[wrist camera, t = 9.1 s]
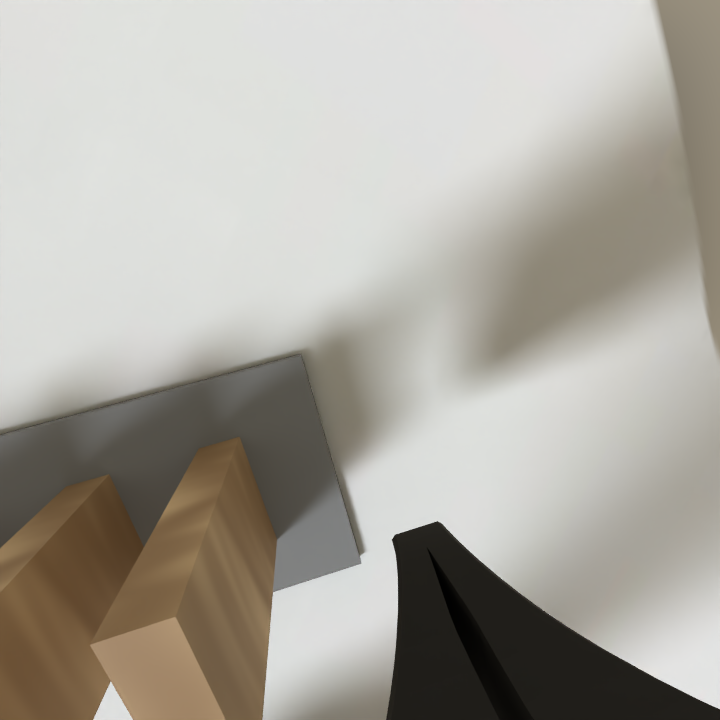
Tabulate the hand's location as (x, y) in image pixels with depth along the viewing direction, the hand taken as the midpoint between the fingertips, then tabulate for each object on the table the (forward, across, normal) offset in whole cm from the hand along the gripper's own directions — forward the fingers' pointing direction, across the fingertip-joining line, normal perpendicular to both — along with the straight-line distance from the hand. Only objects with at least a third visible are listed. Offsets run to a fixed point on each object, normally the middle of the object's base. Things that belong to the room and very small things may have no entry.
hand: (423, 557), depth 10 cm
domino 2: (+6, +6, 0) cm, 8 cm away
